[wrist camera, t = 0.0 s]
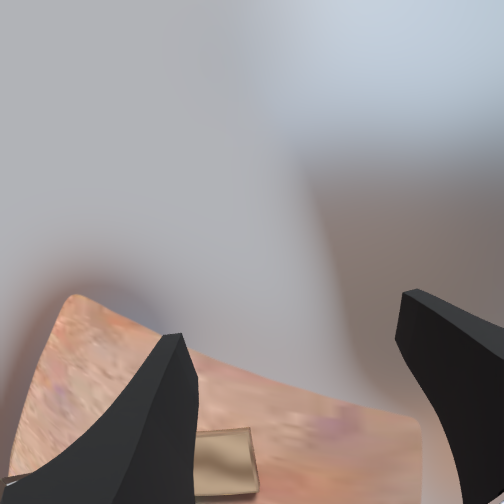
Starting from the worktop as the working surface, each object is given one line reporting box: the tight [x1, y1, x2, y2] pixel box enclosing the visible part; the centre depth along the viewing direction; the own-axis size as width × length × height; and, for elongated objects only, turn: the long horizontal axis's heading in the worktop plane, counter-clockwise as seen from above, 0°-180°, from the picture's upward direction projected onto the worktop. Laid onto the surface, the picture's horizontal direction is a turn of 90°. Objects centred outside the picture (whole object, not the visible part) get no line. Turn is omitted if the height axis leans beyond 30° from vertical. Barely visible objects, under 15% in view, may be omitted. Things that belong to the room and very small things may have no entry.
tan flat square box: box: [193, 427, 260, 496], centre depth 32 cm, size 9×9×4 cm
